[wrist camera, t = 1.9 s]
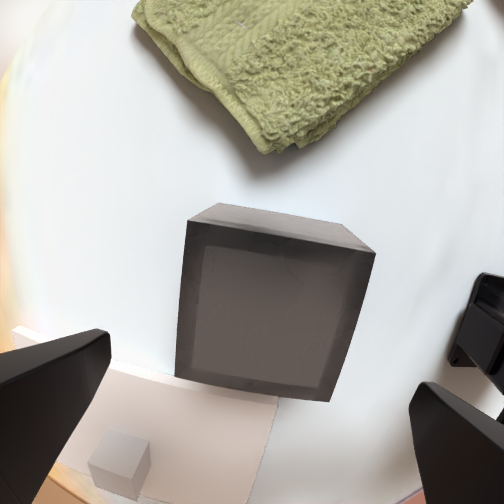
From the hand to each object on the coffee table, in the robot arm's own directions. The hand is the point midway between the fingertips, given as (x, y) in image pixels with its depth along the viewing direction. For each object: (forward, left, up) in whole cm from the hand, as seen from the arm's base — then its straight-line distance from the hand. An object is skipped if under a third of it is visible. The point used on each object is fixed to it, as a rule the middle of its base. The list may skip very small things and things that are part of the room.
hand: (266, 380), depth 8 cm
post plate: (+8, +16, -9) cm, 20 cm away
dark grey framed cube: (0, 0, -9) cm, 9 cm away
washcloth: (0, -16, -10) cm, 19 cm away
